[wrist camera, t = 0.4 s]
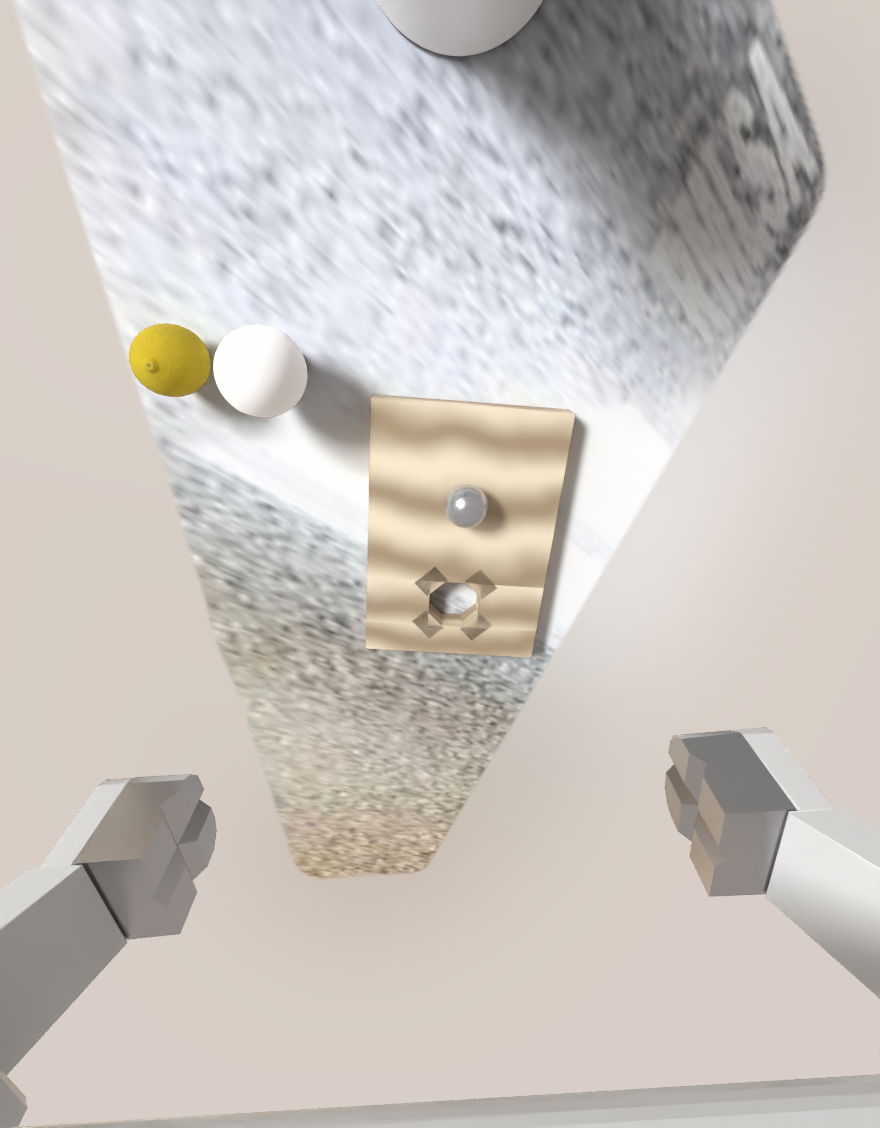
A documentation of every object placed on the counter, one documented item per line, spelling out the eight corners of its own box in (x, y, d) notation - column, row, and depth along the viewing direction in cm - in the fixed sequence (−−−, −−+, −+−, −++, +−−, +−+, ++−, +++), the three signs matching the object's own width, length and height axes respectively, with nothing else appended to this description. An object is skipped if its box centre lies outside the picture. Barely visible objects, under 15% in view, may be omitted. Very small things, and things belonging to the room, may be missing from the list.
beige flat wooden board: (373, 394, 49) (370, 398, 46) (568, 409, 49) (575, 414, 47) (368, 635, 60) (365, 648, 57) (527, 644, 60) (531, 657, 58)
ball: (445, 476, 49) (446, 490, 46) (488, 480, 50) (492, 493, 46) (441, 517, 51) (442, 533, 47) (483, 520, 51) (487, 536, 48)
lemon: (234, 347, 47) (198, 354, 39) (208, 401, 49) (169, 418, 41) (173, 308, 45) (124, 308, 38) (150, 366, 47) (99, 376, 40)
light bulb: (254, 406, 49) (209, 431, 39) (236, 326, 46) (182, 330, 36) (328, 399, 49) (301, 423, 39) (314, 318, 46) (281, 321, 36)
